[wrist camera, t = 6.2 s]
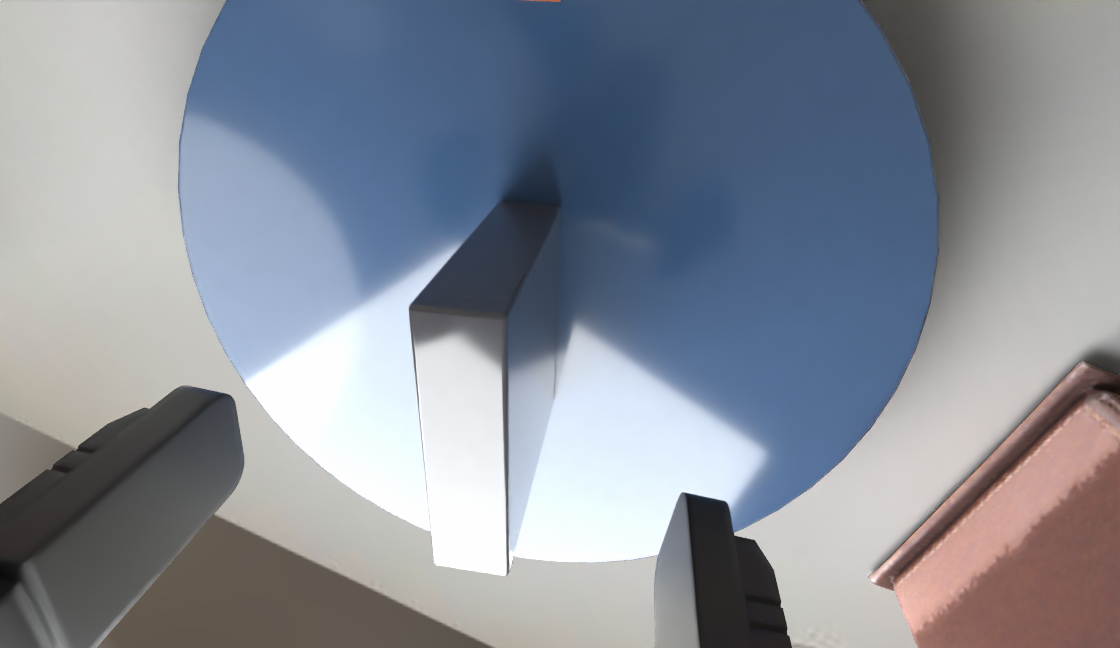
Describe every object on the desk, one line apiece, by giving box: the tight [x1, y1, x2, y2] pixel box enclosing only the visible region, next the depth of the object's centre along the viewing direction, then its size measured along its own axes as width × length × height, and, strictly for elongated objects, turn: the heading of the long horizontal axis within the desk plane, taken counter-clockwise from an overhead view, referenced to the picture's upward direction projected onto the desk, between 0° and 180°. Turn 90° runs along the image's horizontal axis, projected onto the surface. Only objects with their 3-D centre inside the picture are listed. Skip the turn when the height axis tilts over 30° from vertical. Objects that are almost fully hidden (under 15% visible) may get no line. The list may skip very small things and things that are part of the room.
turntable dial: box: [178, 0, 939, 575], centre depth 13 cm, size 20×20×7 cm
